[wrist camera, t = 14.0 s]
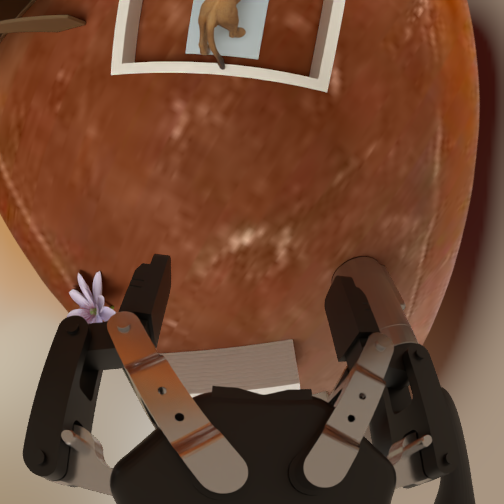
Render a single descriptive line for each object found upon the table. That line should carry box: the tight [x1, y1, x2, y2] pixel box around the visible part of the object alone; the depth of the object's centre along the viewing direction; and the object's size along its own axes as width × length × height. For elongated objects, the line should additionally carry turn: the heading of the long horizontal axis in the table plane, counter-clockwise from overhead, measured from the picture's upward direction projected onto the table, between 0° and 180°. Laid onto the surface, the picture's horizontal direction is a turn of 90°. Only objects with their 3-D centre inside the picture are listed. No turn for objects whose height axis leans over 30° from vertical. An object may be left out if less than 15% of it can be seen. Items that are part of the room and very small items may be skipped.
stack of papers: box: [160, 339, 300, 398], centre depth 57 cm, size 32×11×11 cm, turn 100°
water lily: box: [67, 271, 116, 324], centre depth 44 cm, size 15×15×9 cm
